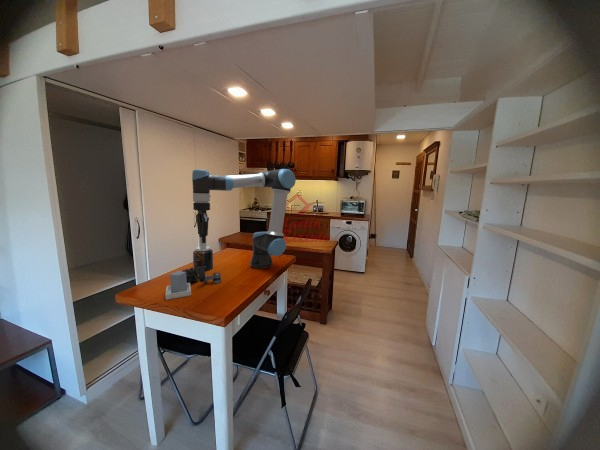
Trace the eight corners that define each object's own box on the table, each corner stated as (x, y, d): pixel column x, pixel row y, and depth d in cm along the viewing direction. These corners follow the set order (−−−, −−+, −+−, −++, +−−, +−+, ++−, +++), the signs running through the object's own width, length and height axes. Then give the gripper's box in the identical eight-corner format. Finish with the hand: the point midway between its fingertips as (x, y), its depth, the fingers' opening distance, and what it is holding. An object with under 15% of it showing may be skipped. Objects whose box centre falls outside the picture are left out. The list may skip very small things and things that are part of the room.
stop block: (179, 289, 115) (178, 270, 113) (187, 290, 114) (186, 272, 112) (171, 293, 110) (170, 274, 109) (179, 295, 109) (178, 275, 107)
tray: (190, 287, 119) (190, 282, 119) (191, 295, 110) (190, 290, 109) (166, 290, 114) (166, 286, 114) (165, 300, 105) (165, 295, 104)
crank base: (220, 280, 129) (220, 272, 129) (222, 283, 125) (221, 275, 124) (203, 282, 125) (202, 274, 124) (204, 286, 120) (203, 277, 120)
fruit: (167, 282, 121) (192, 283, 119) (169, 267, 123) (194, 267, 120) (178, 282, 130) (202, 282, 127) (180, 267, 131) (203, 268, 129)
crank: (219, 276, 128) (218, 262, 127) (221, 279, 125) (221, 264, 124) (196, 281, 121) (196, 266, 119) (198, 284, 118) (198, 268, 116)
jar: (208, 273, 139) (208, 250, 137) (190, 272, 140) (189, 249, 137) (216, 267, 151) (215, 245, 149) (199, 266, 151) (198, 245, 149)
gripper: (214, 202, 106) (215, 250, 110) (205, 201, 116) (206, 245, 120) (197, 202, 101) (199, 252, 105) (189, 201, 111) (191, 247, 115)
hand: (203, 248), depth 112 cm, fingers closed
